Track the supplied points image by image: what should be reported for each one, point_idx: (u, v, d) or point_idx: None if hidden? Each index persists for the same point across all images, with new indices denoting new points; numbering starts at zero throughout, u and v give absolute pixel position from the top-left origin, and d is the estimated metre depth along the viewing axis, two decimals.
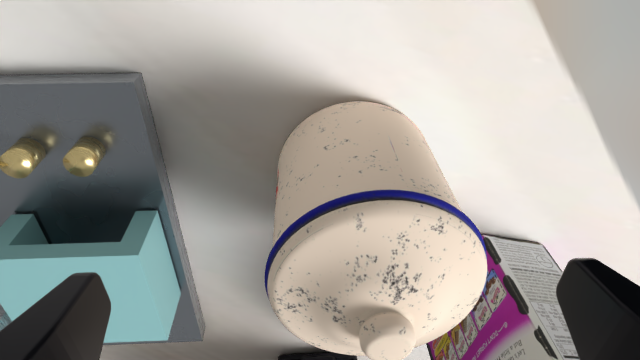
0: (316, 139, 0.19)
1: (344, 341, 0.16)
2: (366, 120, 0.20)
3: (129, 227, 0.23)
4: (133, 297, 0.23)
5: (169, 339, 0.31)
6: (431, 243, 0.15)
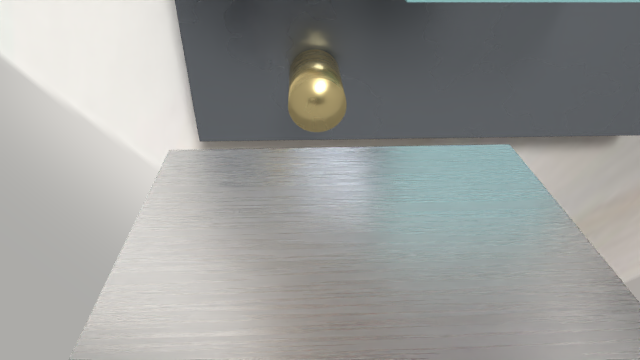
0: None
1: None
2: None
3: None
4: None
5: None
6: None
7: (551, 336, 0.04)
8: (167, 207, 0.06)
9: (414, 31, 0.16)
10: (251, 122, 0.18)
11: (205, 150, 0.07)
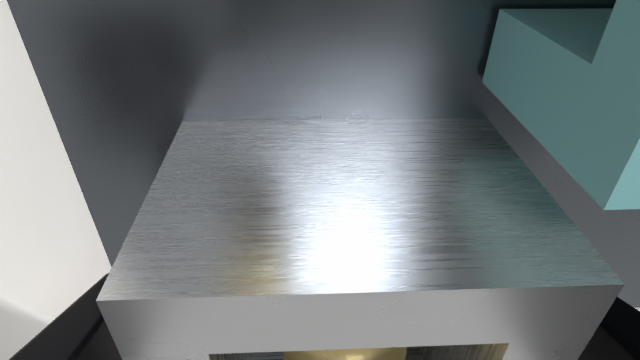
0: None
1: None
2: None
3: None
4: None
5: None
6: None
7: (508, 261, 0.05)
8: (182, 166, 0.06)
9: None
10: None
11: (214, 122, 0.08)
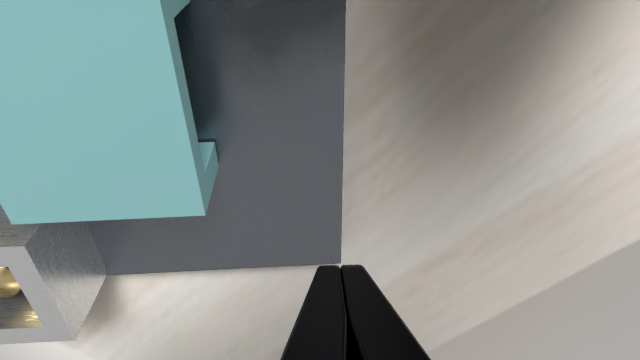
0: None
1: None
2: None
3: None
4: (20, 22, 0.12)
5: (336, 14, 0.15)
6: None
7: None
8: None
9: None
10: None
11: None
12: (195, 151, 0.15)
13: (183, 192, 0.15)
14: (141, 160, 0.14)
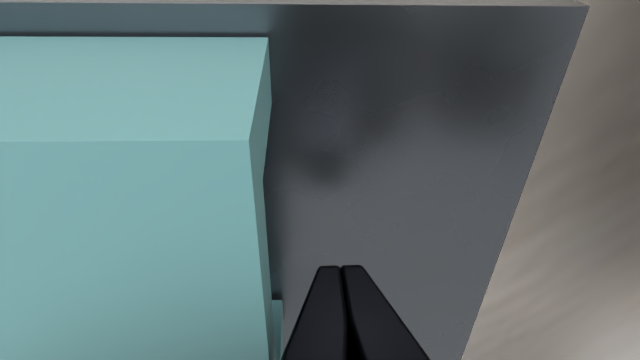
0: None
1: None
2: None
3: None
4: None
5: (528, 127, 0.09)
6: None
7: None
8: None
9: None
10: None
11: None
12: None
13: None
14: None
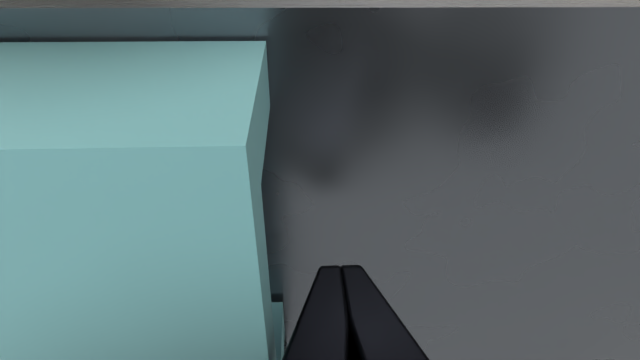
0: None
1: None
2: None
3: None
4: None
5: None
6: None
7: None
8: None
9: None
10: None
11: None
12: None
13: None
14: None
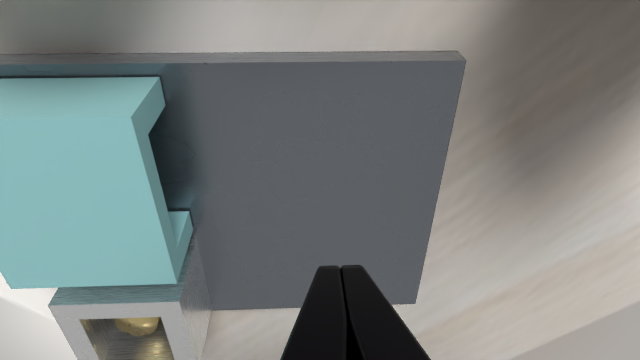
0: None
1: None
2: None
3: None
4: (19, 145, 0.14)
5: (447, 113, 0.18)
6: None
7: (155, 295, 0.19)
8: None
9: (219, 253, 0.22)
10: None
11: None
12: (167, 233, 0.17)
13: (157, 266, 0.18)
14: (121, 243, 0.17)
